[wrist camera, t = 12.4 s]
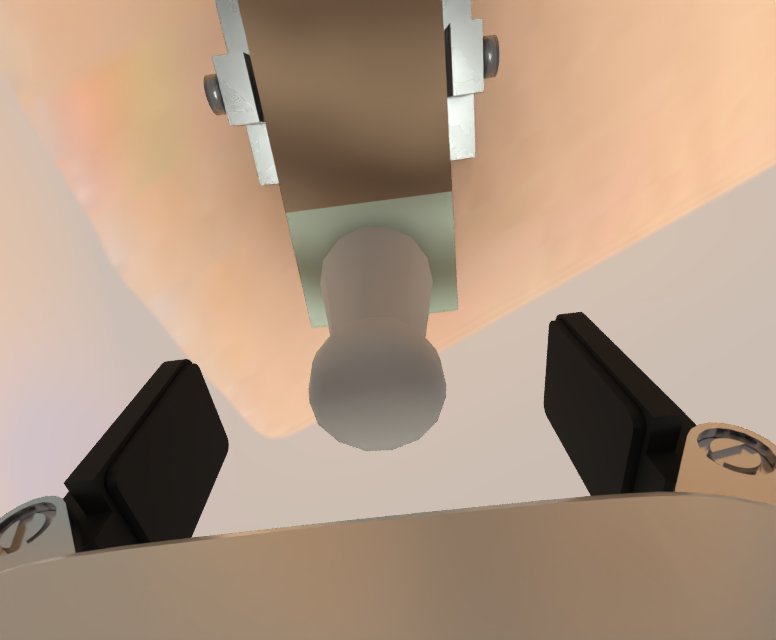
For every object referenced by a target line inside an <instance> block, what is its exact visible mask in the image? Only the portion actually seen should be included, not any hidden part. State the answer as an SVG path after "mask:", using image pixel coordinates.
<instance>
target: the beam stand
mask: <svg viewBox="0 0 776 640" xmlns="http://www.w3.org/2000/svg"><path fill="white" fill-rule="evenodd" d="M215 2H216V6H217V11H218V15H219V19H220V23H221V27H222V31H223V35H224V39H225V43H226V47H227V51H228V54H224V55H217V56H212V59H213V63H214V67H215V71H216V74H211V75H205V77H204V89H205V93H206V97H207V100H208V102H209V105H210V107H211V109H212V110H213V112H214V113H215V114H216V115H222V114H227V116H228V120H229V124H230V126H244V125H246V128H247V132H248V136H249V140H250V144H251V148H252V152H253V156H254V160H255V164H256V169H257V173H258V177H259V181H260V185H268V184H275V183H279V181H278V177H277V173H276V168H275V164H274V159H273V155H272V151H271V146H270V142H269V137H268V133H267V129H266V124H265V120H264V115H263V111H262V107H261V102H260V98H259V93H258V89H257V84H256V80H255V76H254V71H253V67H252V62H251V58H250V54H249V49H248V45H247V40H246V36H245V32H244V27H243V23H242V18H241V14H240V10H239V5H238V1H237V0H215ZM442 6H443V25H444V44H445V64H446V83H447V103H448V122H449V142H450V160H457V159H465V158H472V157H475V124H474V94H476V93H480V92H484V80H483V79H486V78H493V77H495V76H496V74H497V71H498V65H499V44H498V39H497V36H496V35H491V36H484V37H483V20H482V18H480V19H473V20H472V9H471V0H442Z"/></svg>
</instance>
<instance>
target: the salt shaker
mask: <svg viewBox="0 0 776 640" xmlns="http://www.w3.org/2000/svg"><path fill="white" fill-rule="evenodd" d="M432 282H433V280H432V276H431V271H430V267H429V263H428V258H427V257H426V255H425V254H424V253H423V251H422V250H421V249H420V248H419V246H418V245H417V244H416V242H415V241H414V240H413V239H412V238H411V237H410V236H407V235H405V234H403V233H400V232H398V231H396V230H393V229H391V228H389V227H361V228H359V229H357V230H355V231H354V232H352V233H350V234H348V235H346V236H344V237H342V238H341V239H339V240H338V241H337V242H336V244H335V245H334V246H333V248H332V249H331V250H330V252H329V253H328V254H327V256H326V257H325V258H324V260H323V266H322V273H321V280H320V286H321V291H322V296H323V301H324V306H325V311H326V316H327V321H328V326H329V331H330V337H329V338H328V339H327V340H326V342H325V343H324V344H323V345H322V347H321V348H320V349H319V350H318V351H317V353H316V355H315V358H314V360H313V363H312V370H311V377H310V383H309V402H310V404H311V407H312V409H313V412H314V414H315V417H316V420H317V422H318V425H319V426H321V427H322V428H323V429H324V430H325V431H327V432H328V433H329V434H330V435H331V436H333V437H334V438H335V439H336V440H337V441H338V442H341V443H344V444H347V445H350V446H353V447H356V448H359V449H362V450H365V451H377V450H378V451H379V450H393V449H396V448H398V447H401V446H403V445H406V444H408V443H411V442H413V441H416V440H418V439H420V438H421V437H422V436H423V435H424V434H425V433H426V432H427V431H428V430H429V429H430V428H431V427H432V426H433V425H434V424H435V423H436V422H437V421H438V418H439V415H440V412H441V409H442V406H443V404H444V401H445V398H446V383H445V378H444V375H443V370H442V366H441V361H440V358H439V356H438V353H437V351H436V349H435V348H434V347H433V346H432V344H431V343H430V342H429V341H428V340H427V339H426V338H425V336H426V329H427V321H428V313H429V305H430V298H431V290H432Z"/></svg>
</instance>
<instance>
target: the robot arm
mask: <svg viewBox="0 0 776 640" xmlns="http://www.w3.org/2000/svg"><path fill="white" fill-rule="evenodd" d="M548 335H549V336H548V349H547V364H546V377H545V391H544V409H545V413H546V416H547V418H548V419H549V421H550V423H551V425H552V427H553V428H554V430H555V432H556V434H557V435H558V437H559V439H560V441H561V443H562V445H563V446H564V448H565V450H566V452H567V453H568V455H569V457H570V459H571V461H572V462H573V464H574V466H575V468H576V470H577V471H578V473H579V475H580V477H581V479H582V480H583V482H584V484H585V486H586V488H587V489H588V491H589V493H590V495H591V496H585V497H575V498H565V499H554V500H541V501H532V502H522V503H512V504H502V505H492V506H482V507H472V508H462V509H453V510H442V511H432V512H422V513H413V514H404V515H394V516H385V517H376V518H366V519H356V520H347V521H338V522H328V523H319V524H311V525H301V526H291V527H283V528H274V529H265V530H257V531H247V532H238V533H229V534H221V535H211V536H203V537H194V538H191V537H192V535H193V532H194V530H195V528H196V525H197V523H198V521H199V518H200V516H201V514H202V511H203V509H204V507H205V504H206V502H207V499H208V497H209V494H210V492H211V490H212V488H213V485H214V483H215V481H216V478H217V476H218V474H219V471H220V469H221V467H222V464H223V462H224V459H225V457H226V455H227V452H228V445H229V444H228V438H227V435H226V433H225V430H224V428H223V425H222V423H221V421H220V418H219V415H218V413H217V410H216V408H215V405H214V403H213V400H212V398H211V395H210V393H209V390H208V388H207V385H206V383H205V380H204V378H203V375H202V373H201V370H200V368H199V366H198V365H197V364H192V362H191V361H190V360H188V359H184V360H175V361H167V362H164V363H163V364H162V365H161V366H160V367H159V368H158V370H157V371H156V372H155V373H154V374H153V376H152V377H151V378H150V379H149V380H148V382H147V383H146V384H145V385H144V386H143V388H142V389H141V390H140V391H139V393H138V394H137V395H136V396H135V397H134V399H133V400H132V401H131V402H130V403H129V405H128V406H127V407H126V408H125V410H124V411H123V412H122V413H121V414H120V416H119V417H118V418H117V419H116V421H115V422H114V423H113V424H112V425H111V426H110V428H109V429H108V430H107V431H106V433H105V434H104V435H103V436H102V438H101V439H100V440H99V441H98V442H97V443H96V445H95V446H94V447H93V448H92V450H91V451H90V452H89V453H88V454H87V456H86V457H85V458H84V459H83V460H82V462H81V463H80V464H79V465H78V466H77V468H76V469H75V470H74V471H73V472H72V474H71V475H70V476H69V477H68V479H67V480H66V481H65V482H64V484H65V486H66V487H67V489H68V490H69V492H68V493H67V495H66V496H65V497H64V498H63V499H62V498H60V497H57V496H45V497H41V498H37V499H34V500H31V501H29V502H27V503H24V504H22V505H20V506H18V507H16V508H15V509H13V510H11V511H10V512H8V513H6V514H5V515H4V516H2V517H1V518H0V640H776V445H775V444H773V443H772V442H771V441H769V440H768V439H766V438H764V437H762V436H761V435H759V434H757V433H755V432H753V431H750V430H747V429H744V428H742V427H739V426H735V425H730V424H725V423H705V424H700V425H696V424H695V423H694V422H693V421H692V420H691V419H690V418H689V417H688V416H687V415H685V413H684V412H683V411H682V410H681V409H680V408H679V407H678V406H677V405H676V404H675V403H674V402H673V401H672V400H671V399H670V398H669V397H668V396H667V395H666V394H665V393H664V392H663V391H662V390H661V389H660V388H659V387H658V386H657V385H656V384H655V383H653V381H652V380H651V379H649V377H648V376H647V375H646V374H645V373H644V372H642V371H641V369H640V368H638V367H637V366H636V365H635V364H634V363H633V362H632V361H631V360H630V359H629V358H628V357H627V356H626V355H625V354H624V353H623V352H622V351H621V350H620V349H619V348H618V347H617V346H616V345H615V344H614V343H613V342H612V341H611V340H610V339H609V338H608V337H607V336H606V335H605V334H604V333H603V332H602V331H601V330H600V329H599V328H598V327H597V326H596V325H595V324H594V323H593V322H592V321H591V320H590V319H589V318H588V317H587V316H586V315H585V314H583V313H582V312H576V313H568V314H559V315H558V316H557V318H556V320H555V321H551V322H550V324H549V334H548Z"/></svg>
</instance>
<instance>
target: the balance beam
mask: <svg viewBox="0 0 776 640" xmlns="http://www.w3.org/2000/svg"><path fill="white" fill-rule="evenodd" d="M237 1H238V5H239V10H240V14H241V18H242V23H243V27H244V32H245V36H246V40H247V45H248V49H249V54H250V58H251V62H252V67H253V71H254V76H255V80H256V84H257V89H258V93H259V98H260V102H261V107H262V111H263V115H264V120H265V124H266V129H267V133H268V137H269V142H270V146H271V151H272V155H273V159H274V164H275V168H276V173H277V177H278V181H279V186H280V190H281V195H282V199H283V203H284V208H285V212H286V217H287V221H288V225H289V230H290V234H291V239H292V243H293V247H294V252H295V256H296V261H297V265H298V270H299V274H300V278H301V283H302V287H303V292H304V296H305V300H306V305H307V309H308V314H309V318H310V322H311V327H312V328H315V327H323V326H328V321H327V316H326V311H325V306H324V301H323V296H322V291H321V286H320V280H321V273H322V266H323V260H324V258H325V257H326V256H327V254H328V253H329V252H330V250H331V249H332V248H333V246H334V245H335V244H336V242H337V241H338V240H339V239H341V238H342V237H344V236H346V235H348V234H350V233H352V232H354V231H355V230H357V229H359V228H361V227H389V228H391V229H393V230H396V231H398V232H400V233H403V234H405V235H407V236H410V237H411V238H412V239H413V240H414V241H415V242H416V244H417V245H418V246H419V248H420V249H421V250H422V251H423V253H424V254H425V255H426V257H427V258H428V263H429V267H430V271H431V276H432V280H433V282H432V290H431V298H430V305H429V313H437V312H445V311H454V310H458V297H457V278H456V258H455V239H454V219H453V200H452V180H451V161H450V142H449V122H448V103H447V83H446V64H445V44H444V25H443V6H442V0H237ZM429 313H428V314H429Z"/></svg>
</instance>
